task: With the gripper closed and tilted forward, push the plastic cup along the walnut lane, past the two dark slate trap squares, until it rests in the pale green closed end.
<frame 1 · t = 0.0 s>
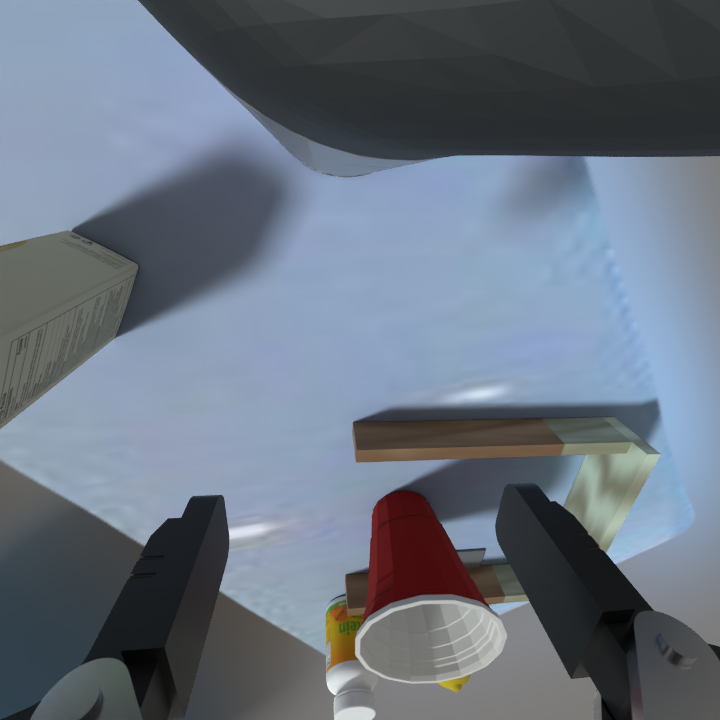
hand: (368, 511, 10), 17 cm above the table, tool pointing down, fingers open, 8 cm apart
plastic cup: (397, 508, 35), on the table
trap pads: (460, 507, 36), on the table
lane: (460, 507, 36), on the table
lemon: (434, 607, 44), on the table
skincare box: (94, 289, 23), on the table
supplement bottle: (348, 605, 42), on the table
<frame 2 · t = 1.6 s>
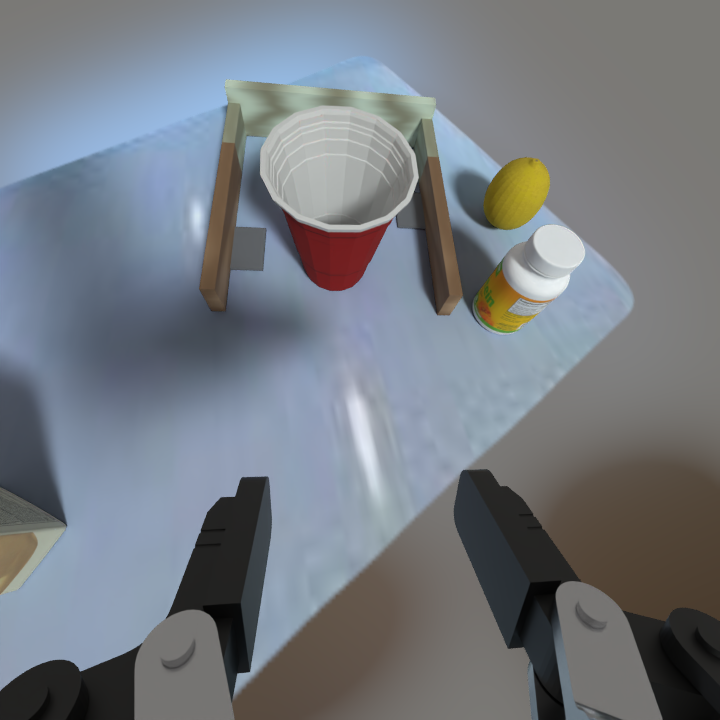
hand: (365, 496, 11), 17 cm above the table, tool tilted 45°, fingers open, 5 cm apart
plastic cup: (334, 270, 35), on the table
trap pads: (333, 217, 37), on the table
lane: (333, 217, 37), on the table
lemon: (495, 226, 39), on the table
skincare box: (12, 535, 24), on the table
supplement bottle: (496, 312, 35), on the table
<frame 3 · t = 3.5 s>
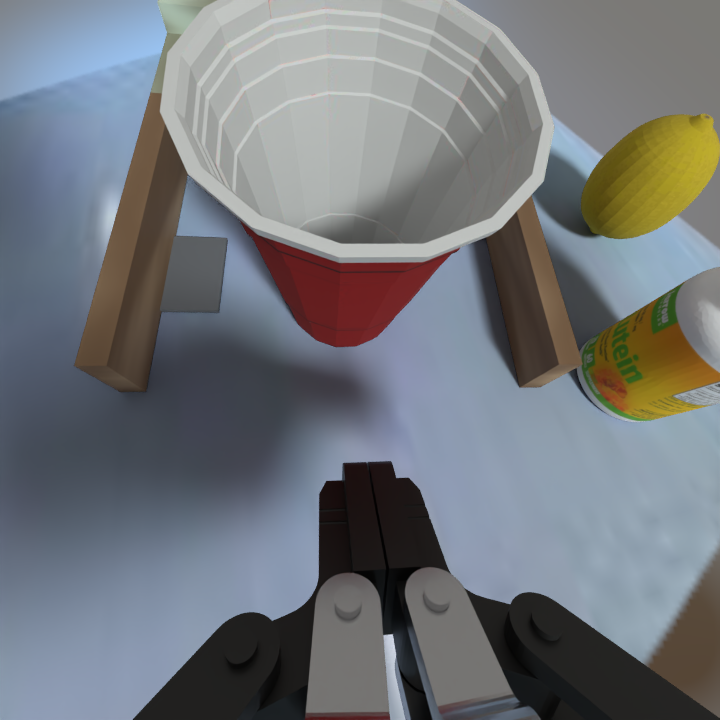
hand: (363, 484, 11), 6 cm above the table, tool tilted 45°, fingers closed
plastic cup: (341, 308, 21), on the table
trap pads: (339, 219, 23), on the table
lane: (339, 219, 23), on the table
lemon: (591, 233, 25), on the table
supplement bottle: (614, 379, 21), on the table
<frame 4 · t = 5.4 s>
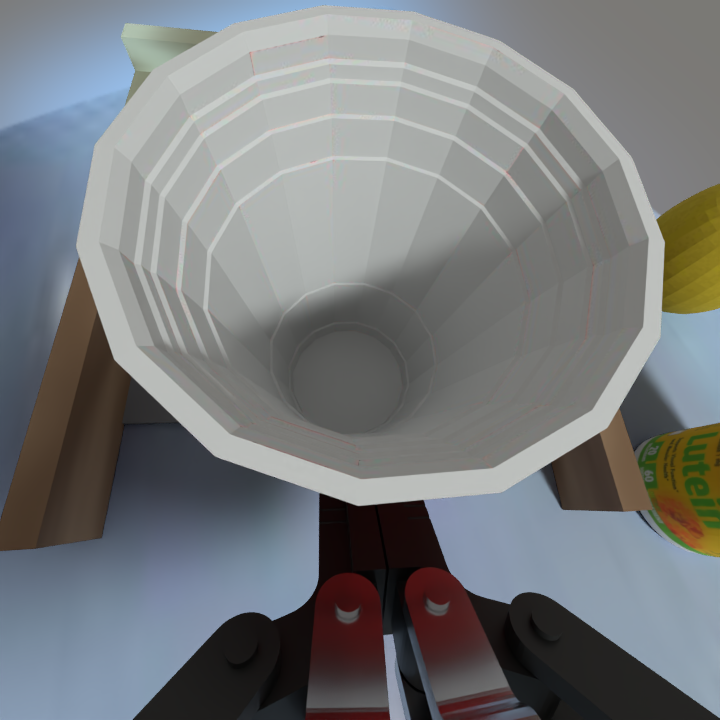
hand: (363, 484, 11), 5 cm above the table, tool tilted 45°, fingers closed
plastic cup: (347, 386, 17), on the table, touching gripper
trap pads: (341, 291, 19), on the table
lane: (341, 291, 19), on the table
lemon: (634, 298, 22), on the table
supplement bottle: (674, 491, 17), on the table
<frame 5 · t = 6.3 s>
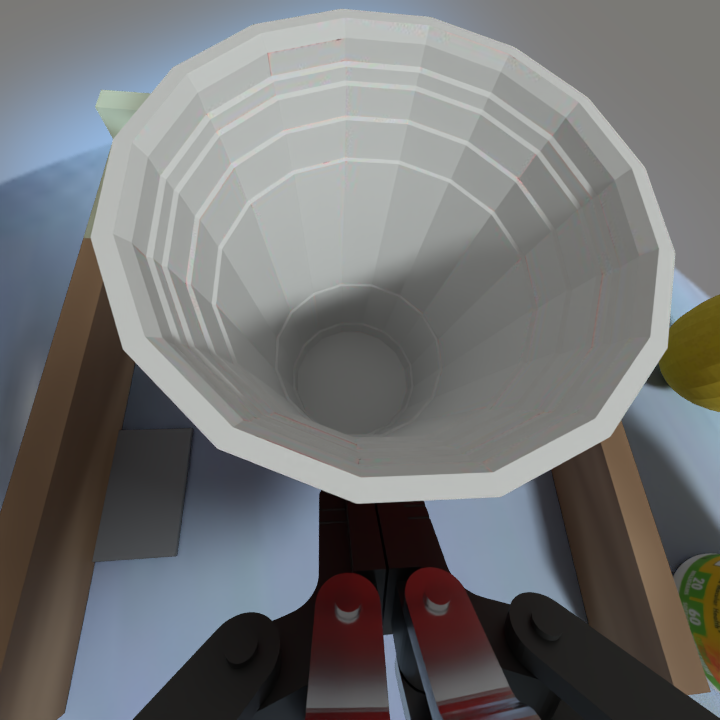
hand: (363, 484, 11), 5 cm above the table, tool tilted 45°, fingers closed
plastic cup: (351, 387, 17), on the table, touching gripper
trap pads: (343, 384, 17), on the table
lane: (343, 384, 17), on the table
lemon: (665, 380, 20), on the table
supplement bottle: (718, 621, 15), on the table
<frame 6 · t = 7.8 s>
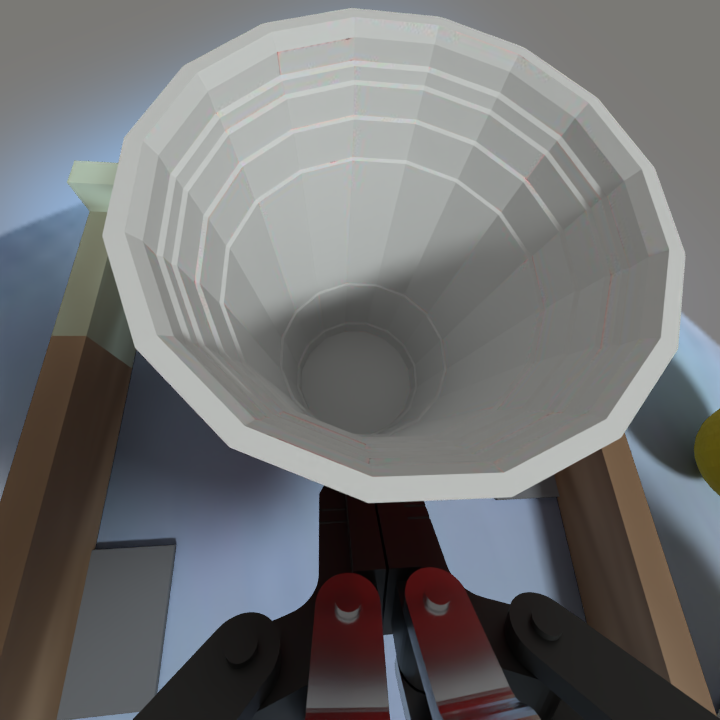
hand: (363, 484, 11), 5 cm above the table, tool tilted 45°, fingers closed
plastic cup: (355, 386, 17), on the table, touching gripper
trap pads: (345, 483, 16), on the table
lane: (345, 483, 16), on the table
lemon: (698, 467, 18), on the table
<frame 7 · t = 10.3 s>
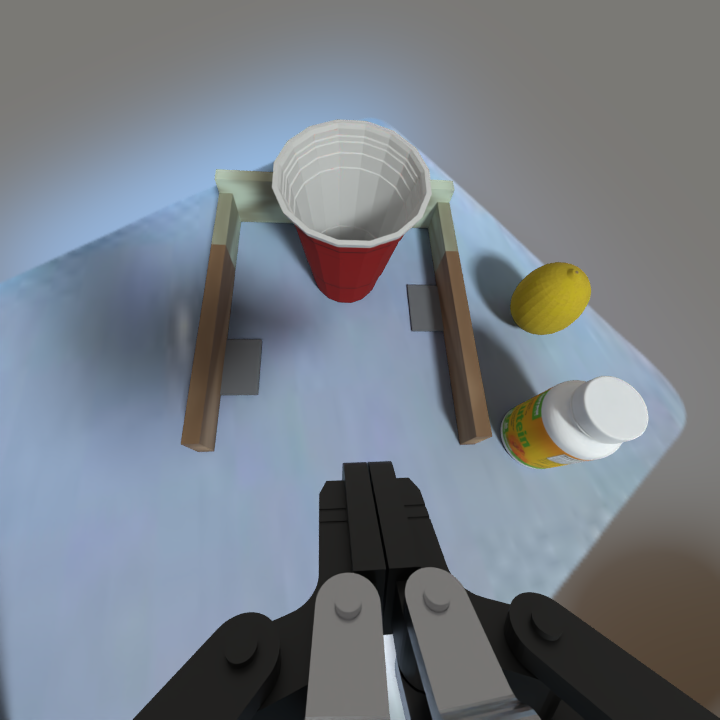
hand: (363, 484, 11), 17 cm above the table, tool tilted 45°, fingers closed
plastic cup: (344, 281, 34), on the table
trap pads: (338, 321, 32), on the table
lane: (338, 321, 32), on the table
lemon: (522, 323, 34), on the table
supplement bottle: (528, 437, 30), on the table
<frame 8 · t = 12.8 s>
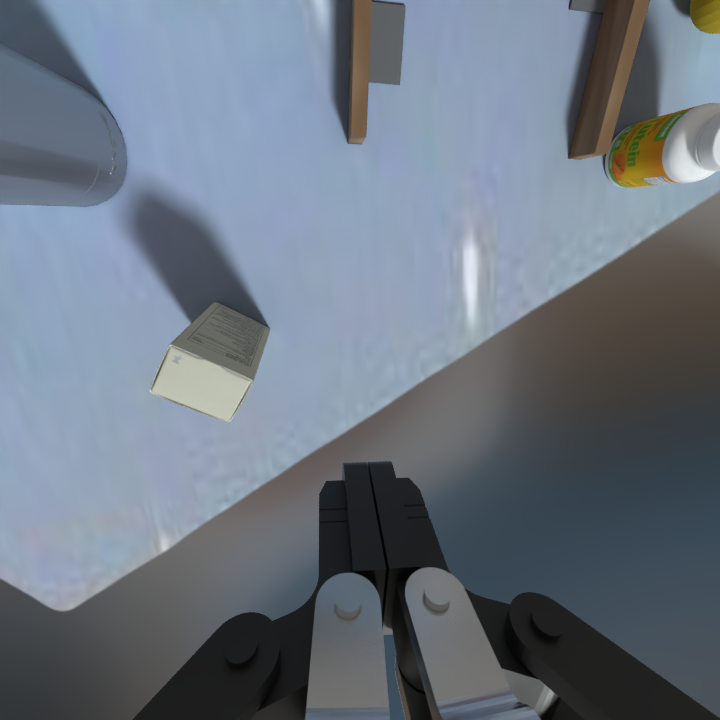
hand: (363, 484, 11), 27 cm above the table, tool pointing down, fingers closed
lemon: (693, 10, 30), on the table
skincare box: (236, 332, 36), on the table
supplement bottle: (628, 157, 34), on the table
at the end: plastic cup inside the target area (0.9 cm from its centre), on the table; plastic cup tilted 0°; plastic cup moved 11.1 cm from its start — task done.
